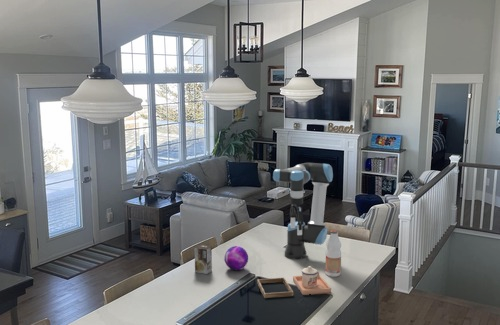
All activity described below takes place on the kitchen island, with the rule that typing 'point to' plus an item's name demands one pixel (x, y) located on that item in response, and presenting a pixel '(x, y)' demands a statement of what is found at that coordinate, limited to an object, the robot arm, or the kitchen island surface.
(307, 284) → the teacup with lid
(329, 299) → the kitchen island surface
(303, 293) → the terracotta dish
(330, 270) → the fruit juice
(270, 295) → the walnut corral
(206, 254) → the coffee box
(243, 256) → the decorative orb
